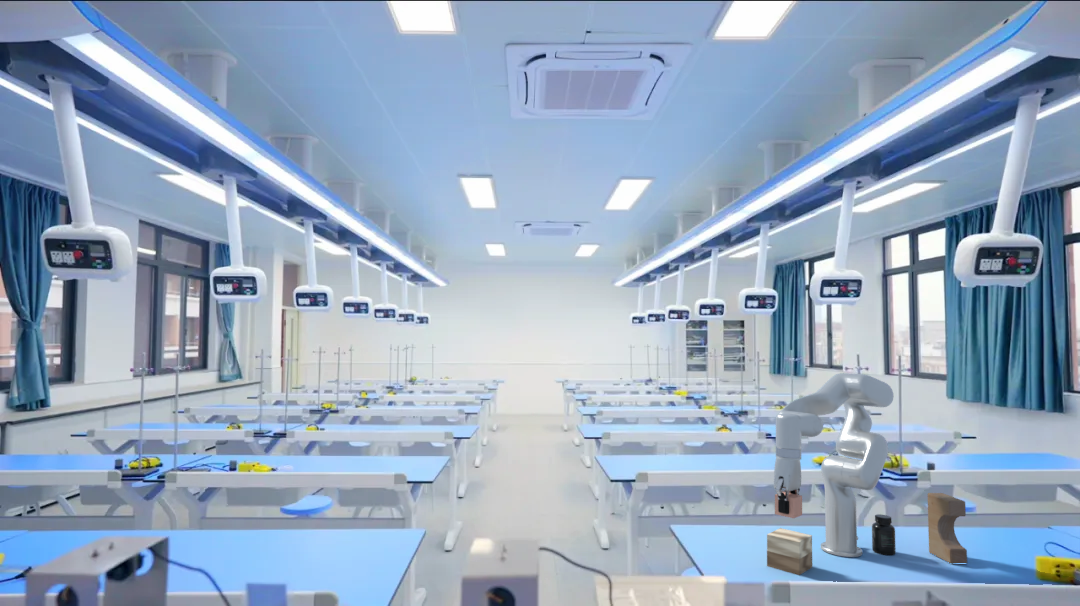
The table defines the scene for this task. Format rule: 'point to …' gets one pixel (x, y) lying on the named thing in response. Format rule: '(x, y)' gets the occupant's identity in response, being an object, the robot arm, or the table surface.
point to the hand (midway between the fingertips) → (788, 510)
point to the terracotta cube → (791, 506)
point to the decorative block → (945, 527)
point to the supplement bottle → (883, 536)
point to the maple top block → (789, 543)
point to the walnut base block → (789, 563)
